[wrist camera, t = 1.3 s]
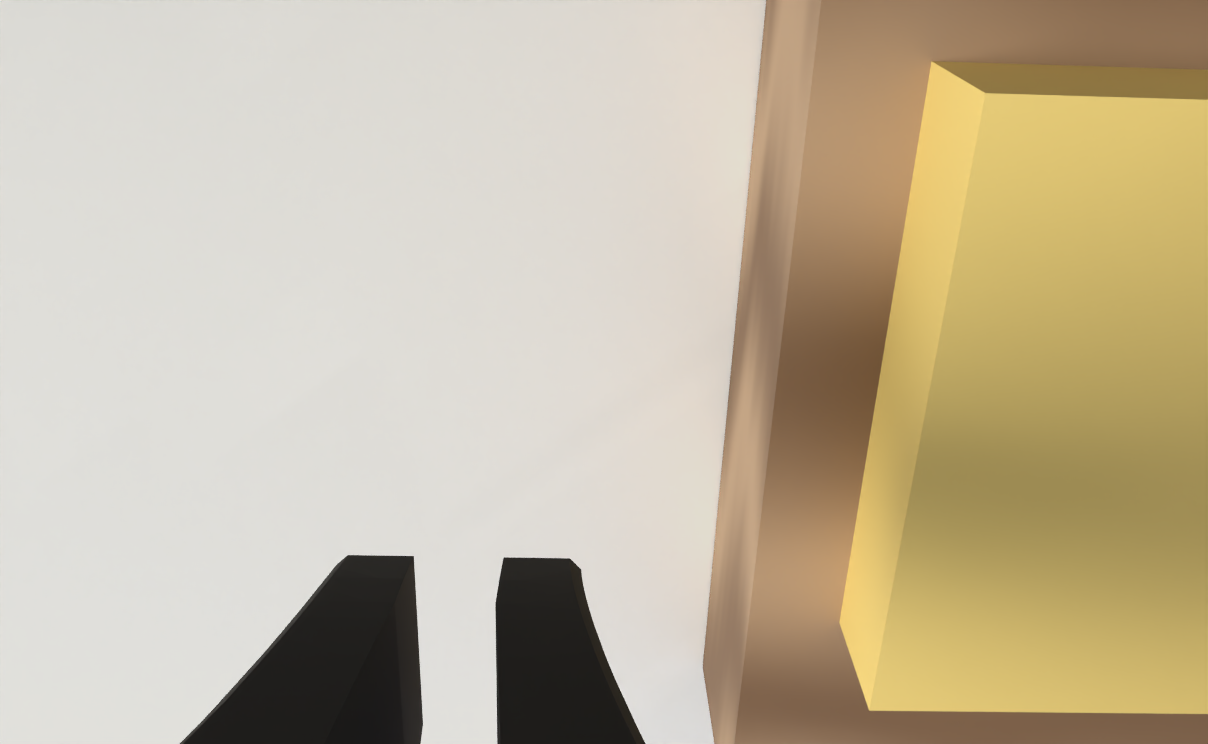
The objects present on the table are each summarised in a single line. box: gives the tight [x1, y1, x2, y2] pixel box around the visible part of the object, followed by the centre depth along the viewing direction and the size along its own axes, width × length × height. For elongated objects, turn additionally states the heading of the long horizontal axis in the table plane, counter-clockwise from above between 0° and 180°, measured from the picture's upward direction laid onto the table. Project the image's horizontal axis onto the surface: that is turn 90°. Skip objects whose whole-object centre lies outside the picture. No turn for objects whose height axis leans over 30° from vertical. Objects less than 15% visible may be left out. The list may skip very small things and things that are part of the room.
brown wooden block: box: [703, 0, 1208, 744], centre depth 17 cm, size 18×11×4 cm, turn 178°
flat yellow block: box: [839, 61, 1208, 714], centre depth 15 cm, size 9×6×2 cm, turn 178°
